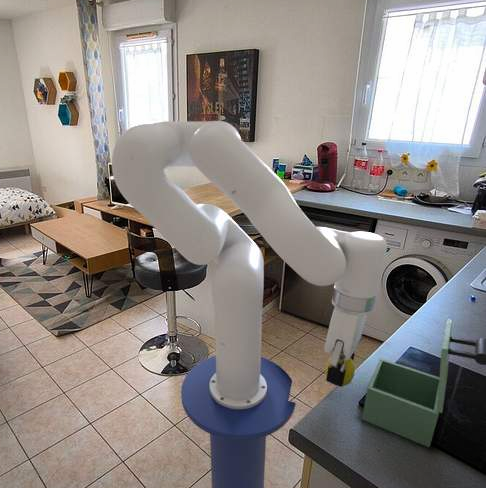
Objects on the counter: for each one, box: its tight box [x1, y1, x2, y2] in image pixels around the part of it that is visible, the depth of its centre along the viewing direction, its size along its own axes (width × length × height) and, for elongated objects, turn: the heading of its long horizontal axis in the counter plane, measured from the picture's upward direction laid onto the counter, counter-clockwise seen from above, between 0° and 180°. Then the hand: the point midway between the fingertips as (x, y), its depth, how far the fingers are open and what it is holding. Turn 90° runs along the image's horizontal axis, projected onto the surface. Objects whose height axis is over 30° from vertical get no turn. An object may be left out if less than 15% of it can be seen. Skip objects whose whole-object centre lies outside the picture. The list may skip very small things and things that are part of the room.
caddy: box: [361, 357, 440, 448], centre depth 69 cm, size 11×10×8 cm
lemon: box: [325, 353, 356, 387], centre depth 74 cm, size 6×6×8 cm
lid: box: [437, 318, 486, 414], centre depth 61 cm, size 12×10×6 cm
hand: (339, 373), depth 75 cm, fingers closed on lemon, 5 cm apart
